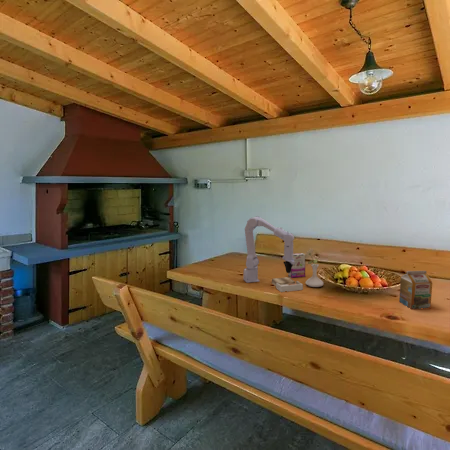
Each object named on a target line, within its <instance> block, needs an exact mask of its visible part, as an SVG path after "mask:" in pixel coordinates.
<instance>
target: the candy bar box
mask: <svg viewBox="0 0 450 450" xmlns="http://www.w3.org/2000/svg"><path fill="white" fill-rule="evenodd" d="M305 254H306V253H301V252H300V253H299V252H298V253H293V258H294V259H295V260H294V261H295V264H293V266H292V268H291V272H290V273H287V274H288V277H289V278H290V279H296V278H297V279H298V278H304V277H306V258H305V256H304V255H305Z"/></svg>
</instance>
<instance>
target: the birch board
mask: <svg viewBox="0 0 450 450" xmlns="http://www.w3.org/2000/svg"><path fill="white" fill-rule="evenodd" d="M276 283H278V284H280V285H285V284H287V285H289V284H294V283H296V281H295V280H293V278H290V277H289V276H288V277H286V276H285V277H277V278H276V277H275V278H271V284H272V285H273V286H275V287H276Z"/></svg>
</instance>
